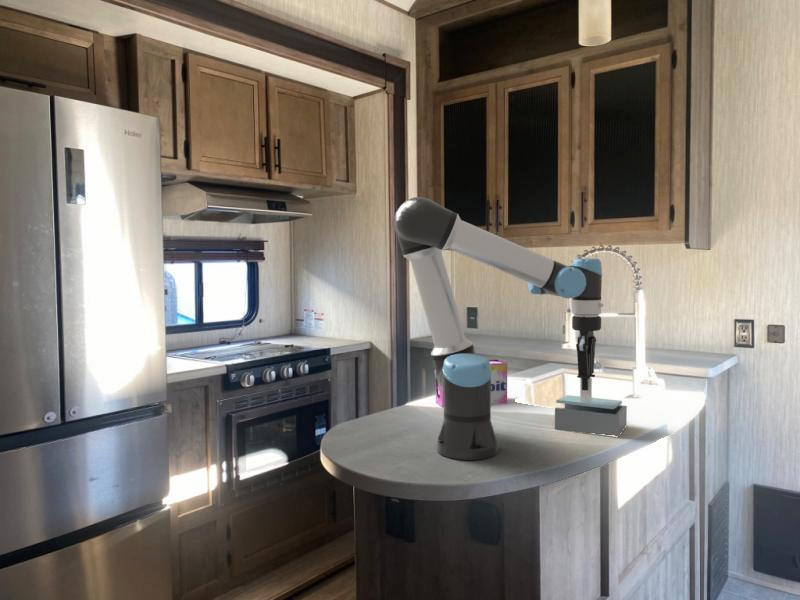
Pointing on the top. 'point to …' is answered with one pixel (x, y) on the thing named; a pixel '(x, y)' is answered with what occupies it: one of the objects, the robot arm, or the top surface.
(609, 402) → the cover
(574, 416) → the grey open box
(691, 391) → the top surface
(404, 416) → the top surface
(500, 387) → the gum box
